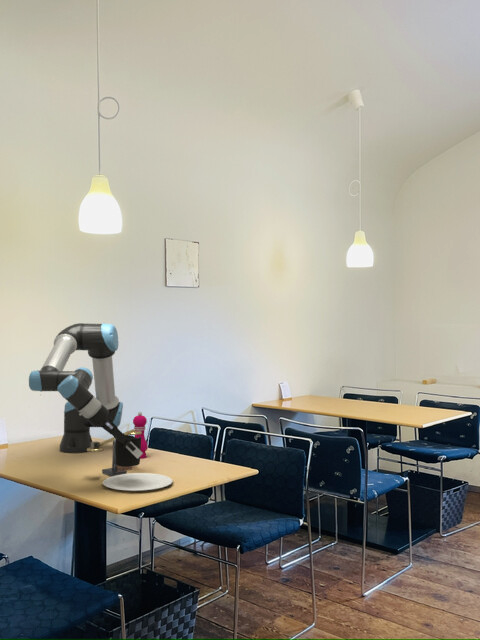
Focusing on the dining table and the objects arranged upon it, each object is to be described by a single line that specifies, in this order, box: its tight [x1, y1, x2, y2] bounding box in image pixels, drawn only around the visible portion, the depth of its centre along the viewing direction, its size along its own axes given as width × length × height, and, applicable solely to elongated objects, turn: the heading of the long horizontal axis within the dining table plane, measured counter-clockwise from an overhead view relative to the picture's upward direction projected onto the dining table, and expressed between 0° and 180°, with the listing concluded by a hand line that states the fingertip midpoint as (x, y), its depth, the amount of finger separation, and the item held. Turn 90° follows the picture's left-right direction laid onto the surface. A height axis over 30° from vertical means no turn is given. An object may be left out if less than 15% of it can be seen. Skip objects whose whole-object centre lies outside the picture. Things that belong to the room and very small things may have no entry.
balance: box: [87, 428, 142, 477], centre depth 231 cm, size 8×23×16 cm, turn 134°
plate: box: [102, 472, 173, 492], centre depth 215 cm, size 25×25×2 cm
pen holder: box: [115, 435, 141, 467], centre depth 218 cm, size 9×9×10 cm
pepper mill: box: [132, 411, 149, 460], centre depth 262 cm, size 7×7×20 cm
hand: (136, 453), depth 219 cm, fingers closed on pen holder, 9 cm apart
